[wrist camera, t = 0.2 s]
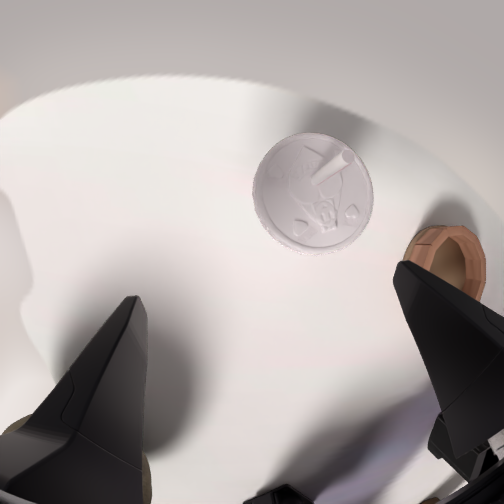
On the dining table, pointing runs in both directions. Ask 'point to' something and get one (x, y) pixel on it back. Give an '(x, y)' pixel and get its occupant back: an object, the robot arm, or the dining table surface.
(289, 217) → the smoothie
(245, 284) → the dining table surface
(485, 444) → the portable radio
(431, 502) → the beer bottle
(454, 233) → the round brown planter pot
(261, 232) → the dining table surface
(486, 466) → the robot arm
